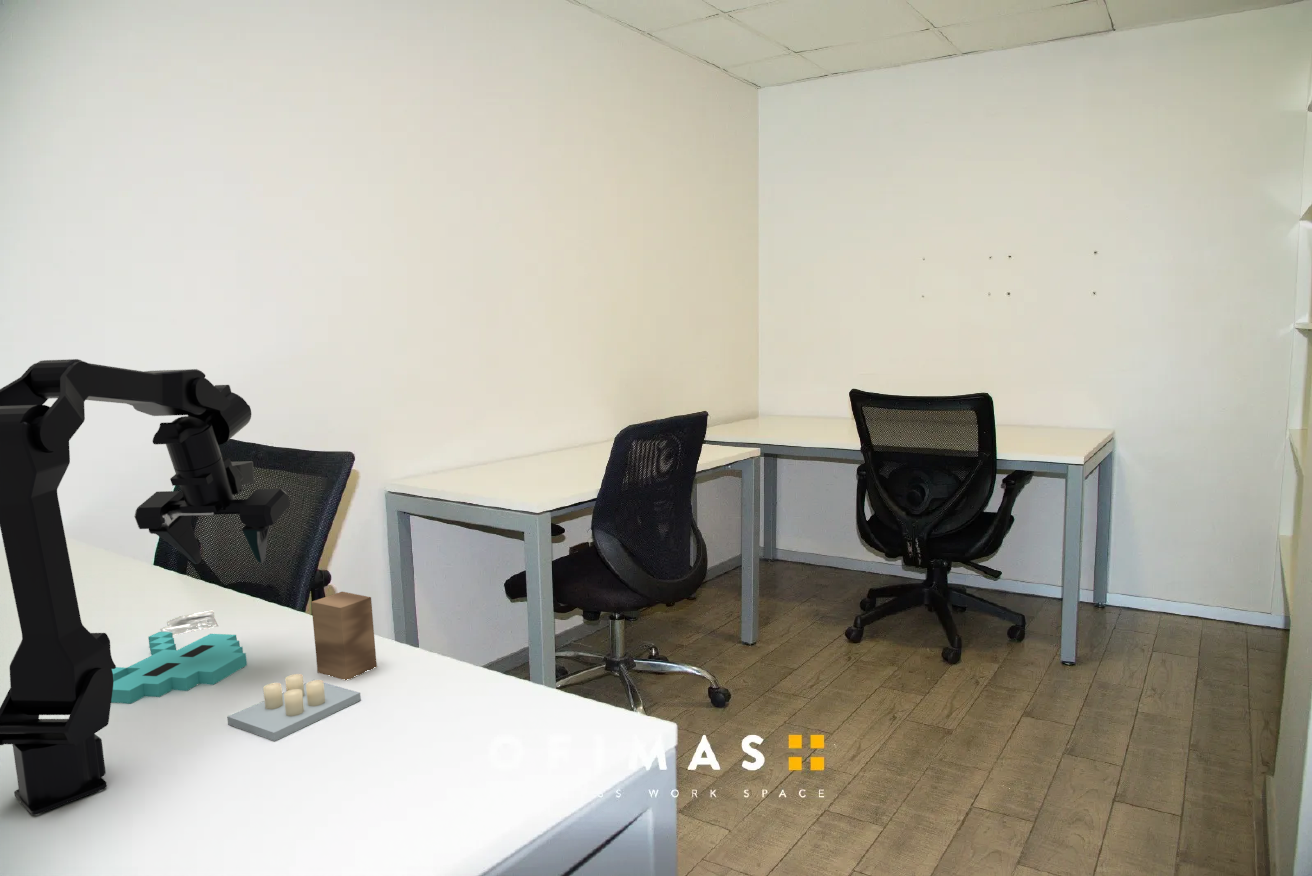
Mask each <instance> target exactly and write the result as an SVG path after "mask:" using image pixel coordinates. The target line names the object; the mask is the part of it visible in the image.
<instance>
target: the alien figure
mask: <svg viewBox="0 0 1312 876" xmlns="http://www.w3.org/2000/svg"><path fill="white" fill-rule="evenodd" d="M147 638H148V644H149V645H148V647H149V650H150V651H149V652H150V655H149V656H148V657H146V658H144V659H142V660H140V661H138V662H136V663H134V664H131V665H130V666H129V665H128V666H127V667H124V666H123V667H121V666H116V668H115V669H112V672H113V680H114V682H113V692H112V699H111V704H112V703H113V704H114V703H115V704H128V705H129V704H133V703H135V702H137V701H139V700H141V699H142V698H145V697H147V698H149V697H150V698H160V697H162V696H164V695H166V694H168V693H169V692H171V691H182V692H183V691H184V692H185V691H187V692H188V691H189V690H191V689H193V688H194V687H197V686H198V685H210V686H211V685H216V684H218V683H219V682H221V681H222V680H224V679H226V678H227V677H229V676H231V675H232V674H235V673H236V672H238V671H239V670H241V669H243V668H245V667H246V666H248V663H247V653H246V652H244V649H243V646H241V645H240V640H238V638H237V634H228V633H227V634H226V633H225V634H224V633H209V634H207V635H205V636H203V637H201V638H199V639H197V640H195V641H193V642H191V643H188V644H187V645H184V646H183V647H181V648H179V649H177V646H176V644H177V643H175V638H174V635H172V632H161V631H158V632H155V633H154V634H151V635H149V636H148V637H147ZM197 684H198V685H197ZM190 688H191V689H190Z"/></svg>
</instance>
